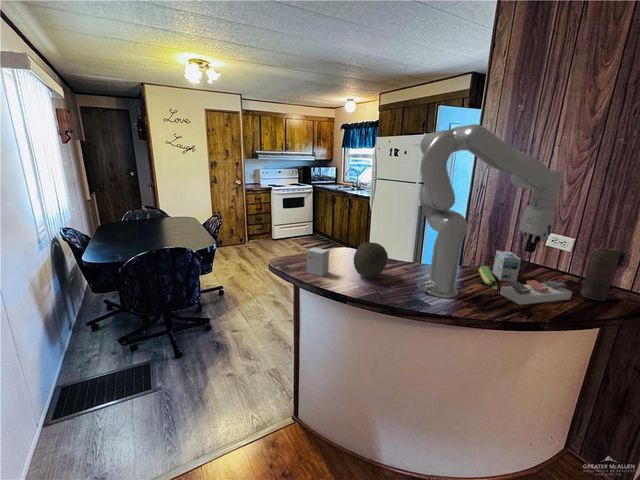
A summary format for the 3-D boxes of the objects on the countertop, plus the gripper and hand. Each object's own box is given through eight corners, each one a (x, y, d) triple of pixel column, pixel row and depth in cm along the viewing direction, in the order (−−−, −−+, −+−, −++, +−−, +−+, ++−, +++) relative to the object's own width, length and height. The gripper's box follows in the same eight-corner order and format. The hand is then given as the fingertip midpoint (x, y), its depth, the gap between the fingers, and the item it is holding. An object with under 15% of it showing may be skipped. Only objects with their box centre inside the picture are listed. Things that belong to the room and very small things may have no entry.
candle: (607, 305, 113) (623, 253, 108) (581, 300, 117) (596, 249, 112) (602, 297, 120) (617, 248, 114) (578, 293, 123) (591, 245, 118)
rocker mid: (539, 291, 115) (540, 289, 114) (526, 283, 120) (527, 280, 119) (548, 290, 116) (549, 288, 115) (534, 282, 121) (535, 279, 120)
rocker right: (558, 287, 116) (558, 284, 116) (543, 284, 122) (543, 281, 122) (566, 286, 117) (566, 284, 117) (551, 283, 123) (551, 280, 123)
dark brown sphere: (383, 285, 124) (386, 250, 120) (349, 280, 128) (351, 245, 124) (387, 273, 137) (390, 241, 133) (356, 268, 141) (358, 237, 137)
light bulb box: (516, 282, 132) (522, 258, 129) (499, 281, 133) (504, 257, 130) (507, 273, 142) (512, 251, 139) (491, 272, 143) (495, 250, 140)
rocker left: (521, 293, 112) (522, 291, 112) (508, 284, 118) (509, 282, 117) (529, 292, 113) (530, 290, 113) (516, 283, 119) (517, 281, 118)
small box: (328, 273, 135) (329, 250, 132) (321, 277, 131) (322, 253, 128) (313, 269, 139) (314, 246, 137) (306, 272, 135) (306, 249, 132)
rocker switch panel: (519, 304, 112) (521, 295, 111) (499, 293, 120) (501, 285, 119) (570, 299, 117) (572, 290, 116) (548, 289, 126) (550, 281, 125)
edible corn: (490, 265, 139) (480, 261, 140) (501, 283, 121) (490, 279, 122) (485, 275, 141) (475, 271, 142) (495, 294, 123) (483, 290, 123)
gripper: (517, 200, 119) (505, 245, 124) (552, 207, 105) (538, 258, 110) (532, 201, 121) (521, 245, 125) (570, 208, 107) (555, 258, 112)
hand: (529, 251), depth 118 cm, fingers closed
